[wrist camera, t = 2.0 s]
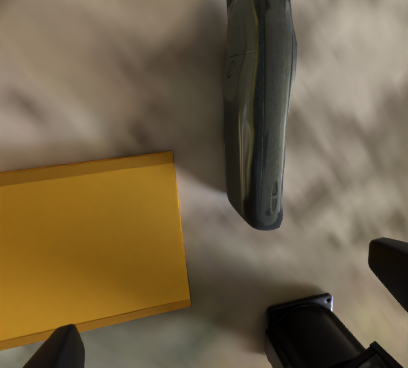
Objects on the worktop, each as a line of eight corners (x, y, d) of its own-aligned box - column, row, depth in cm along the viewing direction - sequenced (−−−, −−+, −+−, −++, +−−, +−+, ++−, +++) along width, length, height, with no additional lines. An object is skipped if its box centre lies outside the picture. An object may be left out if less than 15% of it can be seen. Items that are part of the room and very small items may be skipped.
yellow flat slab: (172, 150, 19) (172, 151, 19) (190, 302, 24) (191, 306, 23) (-189, 195, 16) (-197, 198, 15) (-89, 366, 20) (-94, 372, 19)
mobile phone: (292, 232, 18) (307, -66, 12) (247, 240, 17) (242, -68, 12) (260, 201, 22) (260, -26, 17) (223, 207, 22) (212, -26, 16)
